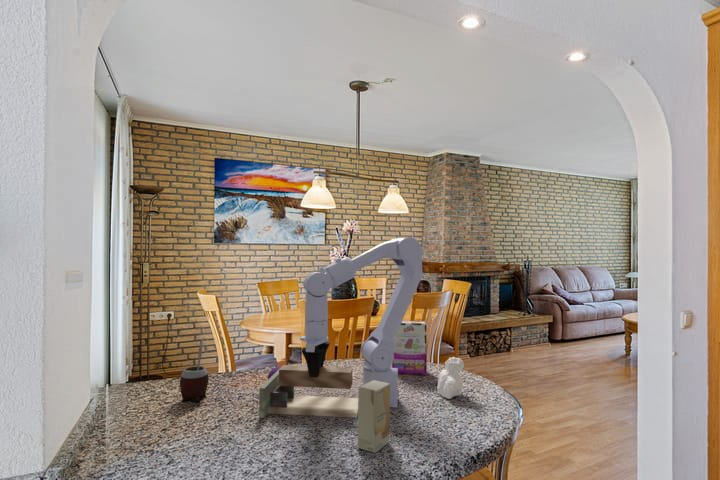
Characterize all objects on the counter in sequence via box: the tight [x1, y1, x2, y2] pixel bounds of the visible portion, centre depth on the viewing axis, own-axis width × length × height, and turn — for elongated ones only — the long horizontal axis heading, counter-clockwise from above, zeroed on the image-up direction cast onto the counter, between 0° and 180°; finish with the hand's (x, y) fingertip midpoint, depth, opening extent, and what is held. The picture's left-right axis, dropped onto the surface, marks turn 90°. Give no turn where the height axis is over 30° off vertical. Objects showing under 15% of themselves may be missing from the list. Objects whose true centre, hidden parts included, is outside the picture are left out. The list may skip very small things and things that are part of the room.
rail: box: [279, 364, 353, 390], centre depth 105 cm, size 18×4×4 cm, turn 84°
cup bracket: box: [258, 370, 358, 419], centre depth 105 cm, size 23×16×7 cm
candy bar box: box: [391, 320, 428, 376], centre depth 135 cm, size 11×5×16 cm, turn 81°
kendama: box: [267, 360, 288, 380], centre depth 126 cm, size 6×6×20 cm
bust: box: [436, 356, 465, 400], centre depth 115 cm, size 12×8×11 cm
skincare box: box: [357, 380, 391, 453], centre depth 85 cm, size 6×4×12 cm
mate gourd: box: [179, 337, 210, 404], centre depth 110 cm, size 8×8×15 cm
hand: (315, 374), depth 105 cm, fingers closed on rail, 4 cm apart
